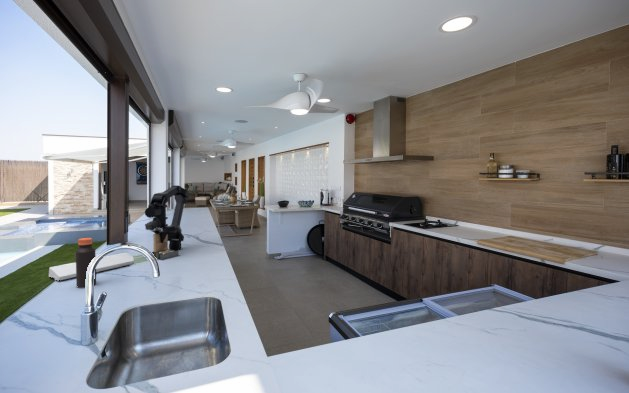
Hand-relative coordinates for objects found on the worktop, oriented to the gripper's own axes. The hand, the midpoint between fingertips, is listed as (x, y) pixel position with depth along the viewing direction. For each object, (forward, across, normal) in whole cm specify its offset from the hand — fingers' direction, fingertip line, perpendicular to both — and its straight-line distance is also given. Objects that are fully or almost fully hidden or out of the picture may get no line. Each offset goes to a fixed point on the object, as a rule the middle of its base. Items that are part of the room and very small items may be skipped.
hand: (160, 242), depth 183 cm
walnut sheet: (+5, 0, 0) cm, 5 cm away
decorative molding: (+8, -4, -33) cm, 34 cm away
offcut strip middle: (+8, +3, 0) cm, 8 cm away
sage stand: (+8, 0, -13) cm, 15 cm away
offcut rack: (+8, +3, 0) cm, 9 cm away
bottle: (+9, +14, -47) cm, 50 cm away
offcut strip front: (+8, +6, 0) cm, 10 cm away
